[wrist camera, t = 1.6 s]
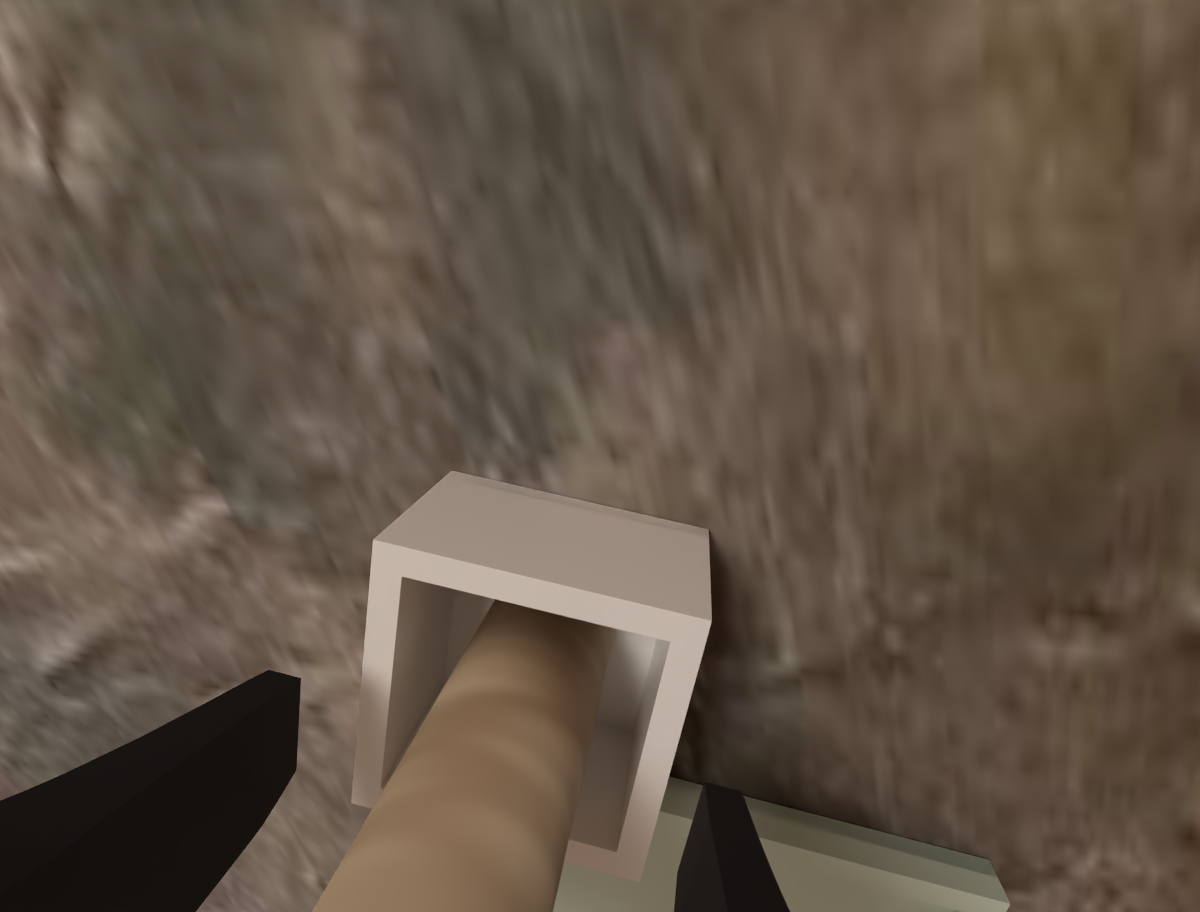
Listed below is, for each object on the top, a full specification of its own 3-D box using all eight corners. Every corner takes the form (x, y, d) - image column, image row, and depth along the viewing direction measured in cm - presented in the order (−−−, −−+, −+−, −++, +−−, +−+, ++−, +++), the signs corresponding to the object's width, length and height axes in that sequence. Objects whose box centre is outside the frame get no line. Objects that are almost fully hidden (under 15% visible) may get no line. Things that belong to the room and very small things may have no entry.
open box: (708, 529, 15) (711, 620, 11) (652, 743, 17) (639, 882, 13) (452, 470, 16) (373, 539, 12) (425, 684, 18) (351, 802, 14)
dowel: (625, 583, 15) (534, 995, 7) (601, 689, 16) (496, 1168, 8) (501, 554, 16) (265, 918, 7) (485, 660, 17) (258, 1094, 8)
